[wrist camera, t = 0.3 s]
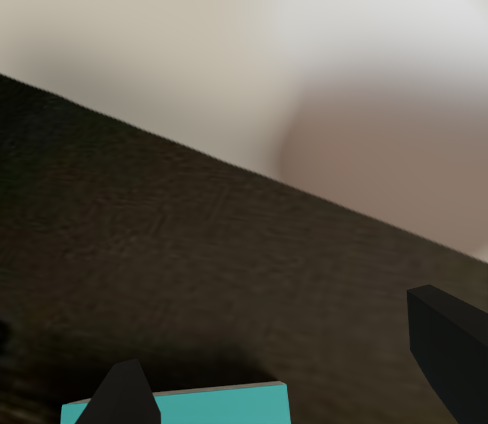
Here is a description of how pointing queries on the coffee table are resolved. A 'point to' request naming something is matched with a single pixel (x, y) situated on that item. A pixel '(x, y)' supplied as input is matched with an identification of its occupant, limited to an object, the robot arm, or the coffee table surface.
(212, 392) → the lid
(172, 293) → the coffee table surface
